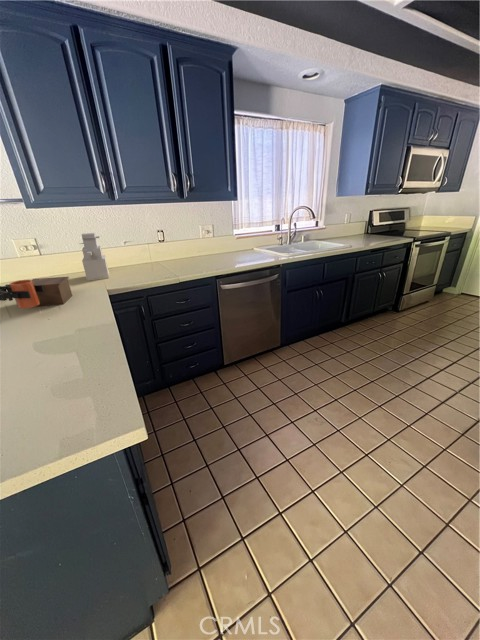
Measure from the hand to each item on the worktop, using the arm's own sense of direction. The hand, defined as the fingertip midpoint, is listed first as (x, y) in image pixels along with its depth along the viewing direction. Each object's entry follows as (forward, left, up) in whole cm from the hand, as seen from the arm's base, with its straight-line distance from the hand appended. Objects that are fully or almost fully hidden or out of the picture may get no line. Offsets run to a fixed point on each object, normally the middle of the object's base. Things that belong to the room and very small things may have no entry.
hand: (36, 291), depth 109 cm
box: (0, +28, -13) cm, 31 cm away
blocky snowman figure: (+24, +68, -14) cm, 74 cm away
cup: (-4, +2, -6) cm, 8 cm away
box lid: (0, +28, -4) cm, 28 cm away
